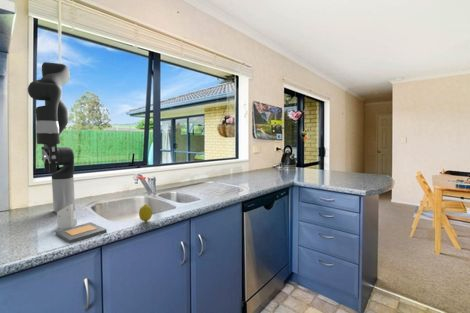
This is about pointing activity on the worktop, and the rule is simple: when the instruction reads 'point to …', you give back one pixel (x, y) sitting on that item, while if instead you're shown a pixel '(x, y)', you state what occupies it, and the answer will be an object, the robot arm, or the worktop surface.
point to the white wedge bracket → (66, 217)
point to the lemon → (145, 213)
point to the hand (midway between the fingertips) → (50, 171)
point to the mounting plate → (80, 232)
